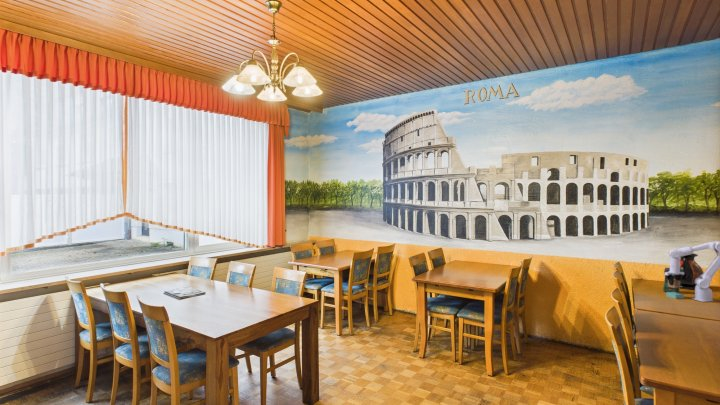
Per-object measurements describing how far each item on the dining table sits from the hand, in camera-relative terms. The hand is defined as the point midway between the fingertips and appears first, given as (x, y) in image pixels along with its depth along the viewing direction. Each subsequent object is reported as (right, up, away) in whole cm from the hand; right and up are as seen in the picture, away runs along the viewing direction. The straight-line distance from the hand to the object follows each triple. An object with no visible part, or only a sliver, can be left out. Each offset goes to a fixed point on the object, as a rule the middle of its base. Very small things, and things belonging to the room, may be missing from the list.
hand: (674, 284), depth 276 cm
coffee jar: (+11, -9, +16) cm, 21 cm away
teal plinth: (0, -9, 0) cm, 9 cm away
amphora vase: (+35, -9, +30) cm, 47 cm away
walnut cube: (0, -2, 0) cm, 2 cm away
